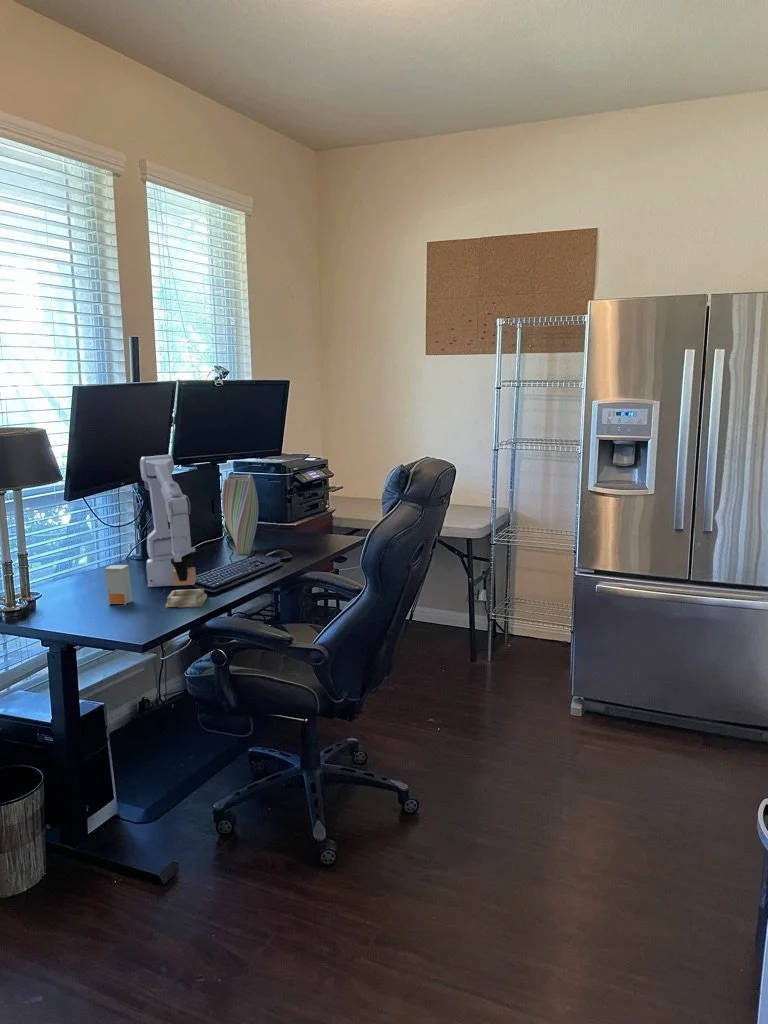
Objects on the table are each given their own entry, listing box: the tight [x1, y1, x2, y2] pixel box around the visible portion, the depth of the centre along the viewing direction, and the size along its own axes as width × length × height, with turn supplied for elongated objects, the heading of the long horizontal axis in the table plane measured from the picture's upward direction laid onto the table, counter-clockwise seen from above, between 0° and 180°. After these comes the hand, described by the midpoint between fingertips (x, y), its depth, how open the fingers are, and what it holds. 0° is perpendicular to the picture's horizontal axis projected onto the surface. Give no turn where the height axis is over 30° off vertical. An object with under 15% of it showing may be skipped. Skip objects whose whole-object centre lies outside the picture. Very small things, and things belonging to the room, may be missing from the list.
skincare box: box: [104, 564, 133, 605], centre depth 233 cm, size 6×4×12 cm
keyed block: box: [173, 566, 197, 587], centre depth 231 cm, size 4×6×4 cm, turn 94°
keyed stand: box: [165, 588, 208, 609], centre depth 232 cm, size 11×9×3 cm
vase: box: [221, 474, 259, 555], centre depth 289 cm, size 14×14×30 cm
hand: (184, 578), depth 231 cm, fingers closed on keyed block, 4 cm apart
